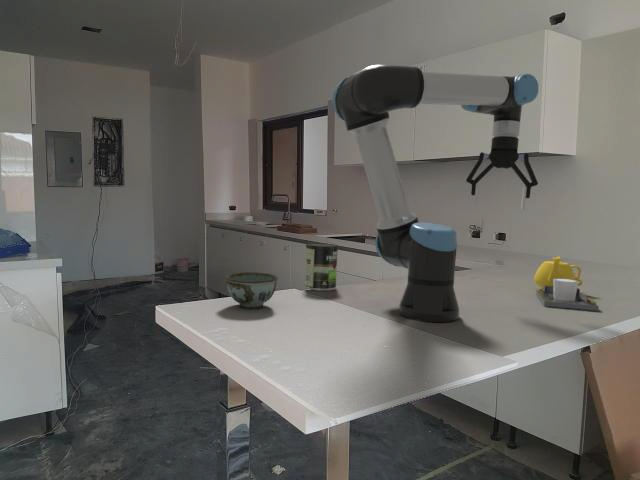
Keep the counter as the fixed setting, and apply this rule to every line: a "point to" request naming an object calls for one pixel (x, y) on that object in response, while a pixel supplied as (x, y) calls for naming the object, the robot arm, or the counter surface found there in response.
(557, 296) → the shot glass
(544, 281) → the teapot
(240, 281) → the bowl
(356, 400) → the counter surface
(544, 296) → the chassis plate
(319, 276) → the coffee can
